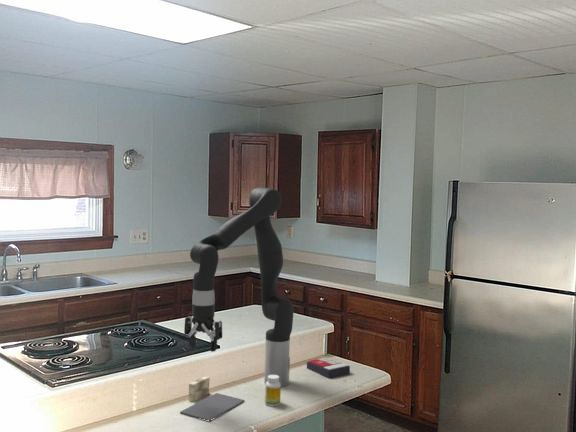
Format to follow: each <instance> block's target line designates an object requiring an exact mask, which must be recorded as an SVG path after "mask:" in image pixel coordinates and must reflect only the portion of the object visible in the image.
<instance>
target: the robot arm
mask: <svg viewBox="0 0 576 432" xmlns="http://www.w3.org/2000/svg"><path fill="white" fill-rule="evenodd" d="M248 201H249V202H248V203H249V207H250V208H249V209H247V210H246V211H244V212H242V213H240V214H237V215H236V216H234V217H232V218H230V219H229V220H227V221H226V222H225V223H223V224H222V225H221V226H220V227H219V228H217V229H216V230H215V231H214V232H213V233H212V234H209V235H207V236H206V237H204V238H202V239H200V240H199V241H198V242H195V244H194V245H193V246H192V247H191V249H190V252H189V257H190V259H191V261H192V262H193V263H195V264H198V265H199V269H198V271H196V272H195V273H194V275H193V283H192V285H193V286H192V288H193V289H192V298H191V299H192V301H191V302H192V306H191V307H192V309H191V312H192V313H191V316H190V315H189V316H186V317H185V318H184V330H183V333H184V334H185V335H188V339H189V340H188V342H189V343H188V345H189V347H190V348H191V349H193V348H196V345H197V342H196V341H197V339H196V338H197V337H196V334H197V333H200V332H201V333H202V334H203V333H205V334H206V335H207V336H208V337H209V339H210V352H216V350H217V349H218V340H220V339H223V324H222V323H223V322H222V320H219V321H215V320H214V319H215V311H216V310H215V308H216V307H215V306H216V305H215V302H216V300H215V276H216V272H217V269H218V264H219V251H221V250H226V249H227V248H229V247H230V246H231V245H233V243H234V242H236V240H238V239H239V238H241V236H242V235H244V234H245V233H246V232H247V231H249V230H250V229H251V228H253V227H254V235H255V239H256V240H255V242H256V250H257V252H256V253H257V258H258V260H257V261H258V266H259V273H260V284H261V286H260V287H261V310H262V314H263V316H264V317H265V318H266V319H267V320H270V321H274V325H273V328H271V329H268V330H266V332H265V350H264V351H265V352H264V353H265V354H264V356H265V357H264V358H265V359H264V385H265V384H266V382H267V381H268V380H267V379H268V376H269V375H278V376H279V382H280V384H281V388H283V387H286V386H288V385H289V383H290V365H291V364H290V363H291V357H290V351H291V349H290V347H291V346H290V344H291V340H290V339H291V334H292V331H293V325H294V324H293V322H294V305H293V302H292V300H290V299H288V298H286V297H282V296H279V295H278V285H277V284H278V278H279V276H280V274H281V272H282V269H283V266H284V256H283V248H282V243H281V241H280V238H279V237H278V235H277V233H276V232H275V229H274V228H273V225H272V223H271V215H273V214H274V213H276V212H277V211H278V210H279V209H280V208H281V206H282V202H283V199H282V195H281V193H280V192H279V191H278V190H277V189H275V188H271V187H255V188H254V189H253V190H251V192H250V194H249V198H248Z"/></svg>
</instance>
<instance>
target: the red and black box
mask: <svg viewBox="0 0 576 432" xmlns="http://www.w3.org/2000/svg"><path fill="white" fill-rule="evenodd" d="M350 367H351V366H350V365H349V364H347V363H343V362H342V361H339V360H336V359H333V358H329V357H321V358H318V359H317V358H316V359H310V360H308V361H307V362H306V369H308V370H309V371H311V372H314V373H315V374H319V375H322V376H323V378H327V379H329V380H330V379H334V378H339V377H344V376H348V375H350V374H351V369H350Z"/></svg>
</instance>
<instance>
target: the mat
mask: <svg viewBox="0 0 576 432" xmlns="http://www.w3.org/2000/svg"><path fill="white" fill-rule="evenodd" d="M243 403H245V399H243V398H239V397H233V396H230V395H225V394H222V393H219V392H218V393H217V392H216V393H214V394H211V395H210V396H208V397H206V398H204V399H202V400H200V401H198V402H196V403H195V404H193V405H191V406H189V407H186V408H185V409H182V410H181V411H179V414H182V415H185V416H187V417H190V418H194V417H196V418H195V419H198V418H201V419H205V420H209V421H210V420H211V419H213V418H215V417H217V416H219V415H221V414H222V415H224V414H226V413H227V411H228V412H229V411H231V410H232V408H233V409H234V408H236V407H237V405H238V406H240V405H241V404H243ZM239 404H240V405H239ZM230 409H231V410H230ZM225 412H226V413H225ZM223 413H224V414H223ZM222 415H221V416H222ZM219 417H220V416H219ZM217 418H218V417H217ZM201 419H200V420H201ZM215 419H216V418H215ZM205 420H204V421H205ZM210 422H211V421H210Z"/></svg>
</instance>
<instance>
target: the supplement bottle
mask: <svg viewBox="0 0 576 432" xmlns="http://www.w3.org/2000/svg"><path fill="white" fill-rule="evenodd" d="M267 380H268V381H267V382H266V384H265V383H264V385H265V388H264V390H265V391H264V404H265V405H266V406H268V405H269V406H268V407H277V406H279V405H280V404H281V393H282V392H281V390H282V389H281V388H282V387H281V384H280V382H279V376H278V375H269V376H268V379H267Z"/></svg>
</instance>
